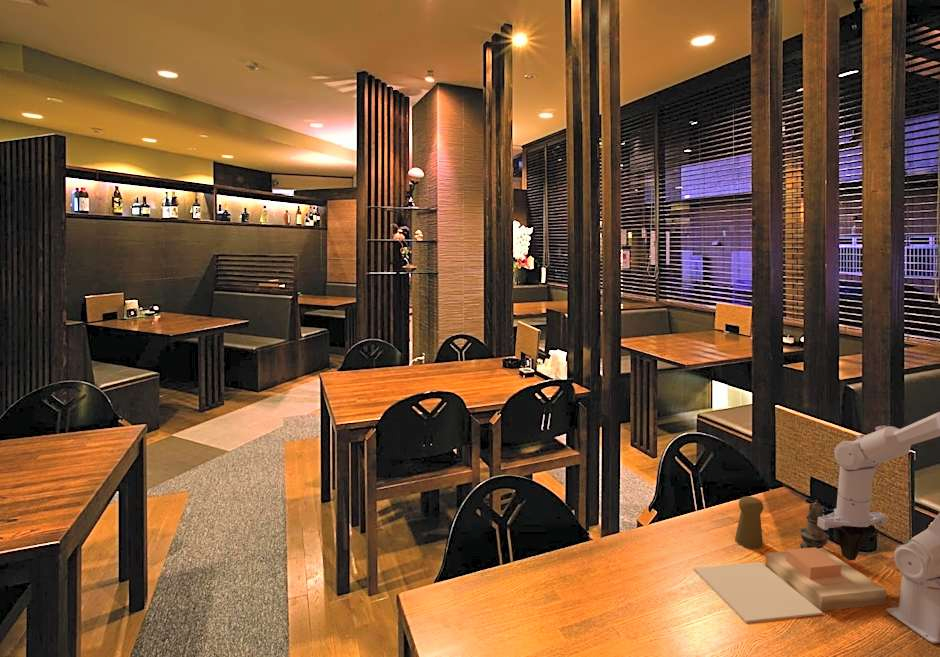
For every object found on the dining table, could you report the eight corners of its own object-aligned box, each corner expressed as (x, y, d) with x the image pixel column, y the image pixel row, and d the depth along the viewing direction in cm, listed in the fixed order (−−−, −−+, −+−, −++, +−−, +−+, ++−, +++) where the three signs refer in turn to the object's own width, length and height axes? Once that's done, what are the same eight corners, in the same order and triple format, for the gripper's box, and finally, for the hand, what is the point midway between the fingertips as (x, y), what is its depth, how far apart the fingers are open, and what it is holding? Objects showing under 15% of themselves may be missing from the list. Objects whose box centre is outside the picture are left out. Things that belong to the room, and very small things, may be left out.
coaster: (840, 576, 113) (841, 564, 113) (809, 579, 112) (810, 567, 112) (814, 558, 120) (815, 547, 119) (785, 560, 119) (786, 549, 118)
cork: (729, 539, 134) (731, 496, 133) (746, 534, 137) (749, 491, 135) (751, 551, 129) (753, 506, 127) (768, 545, 131) (771, 501, 130)
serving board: (884, 603, 109) (886, 589, 108) (820, 610, 107) (821, 596, 106) (822, 560, 124) (822, 548, 124) (765, 565, 122) (766, 553, 122)
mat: (822, 614, 106) (822, 612, 106) (745, 622, 103) (745, 620, 103) (760, 563, 123) (760, 562, 123) (693, 569, 121) (693, 568, 121)
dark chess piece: (832, 556, 126) (836, 506, 125) (804, 553, 127) (807, 504, 126) (821, 543, 132) (825, 495, 130) (794, 541, 133) (798, 493, 131)
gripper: (868, 486, 120) (863, 545, 122) (808, 491, 118) (803, 550, 120) (897, 500, 113) (891, 562, 115) (834, 505, 111) (829, 568, 113)
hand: (848, 557), depth 117 cm, fingers closed
